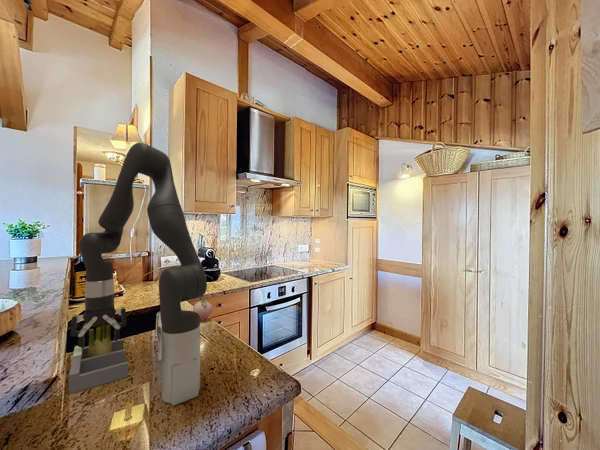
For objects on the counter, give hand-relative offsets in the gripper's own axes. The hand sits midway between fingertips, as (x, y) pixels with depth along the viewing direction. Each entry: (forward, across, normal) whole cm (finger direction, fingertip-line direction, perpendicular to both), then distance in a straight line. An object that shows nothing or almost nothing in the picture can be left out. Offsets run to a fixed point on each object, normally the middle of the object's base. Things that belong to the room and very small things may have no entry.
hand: (100, 343), depth 84 cm
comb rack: (+6, 0, -5) cm, 8 cm away
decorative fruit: (+6, +38, +18) cm, 43 cm away
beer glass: (+6, +18, -10) cm, 21 cm away
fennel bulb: (+6, 0, 0) cm, 6 cm away
